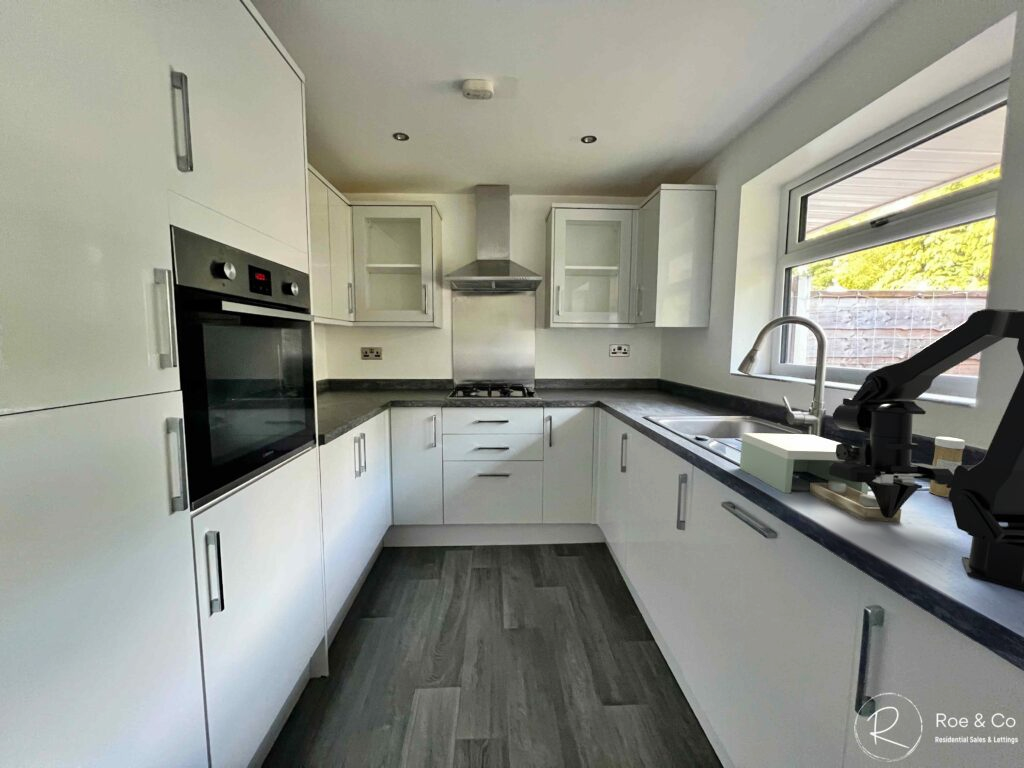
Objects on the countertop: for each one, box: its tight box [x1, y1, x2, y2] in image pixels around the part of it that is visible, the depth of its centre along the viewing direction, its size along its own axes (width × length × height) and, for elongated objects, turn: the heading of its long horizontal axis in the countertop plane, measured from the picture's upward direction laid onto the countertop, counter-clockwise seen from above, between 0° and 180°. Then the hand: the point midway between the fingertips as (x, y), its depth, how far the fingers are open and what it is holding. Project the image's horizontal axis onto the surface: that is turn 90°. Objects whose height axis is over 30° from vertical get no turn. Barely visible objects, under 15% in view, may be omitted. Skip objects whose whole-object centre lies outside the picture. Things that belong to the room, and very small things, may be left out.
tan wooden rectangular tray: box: [809, 481, 902, 522], centre depth 82 cm, size 14×7×4 cm, turn 179°
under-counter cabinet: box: [739, 432, 869, 495], centre depth 97 cm, size 18×19×10 cm
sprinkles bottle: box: [928, 436, 966, 498], centre depth 90 cm, size 5×5×13 cm
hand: (887, 517), depth 74 cm, fingers closed, pressing on tan wooden rectangular tray
